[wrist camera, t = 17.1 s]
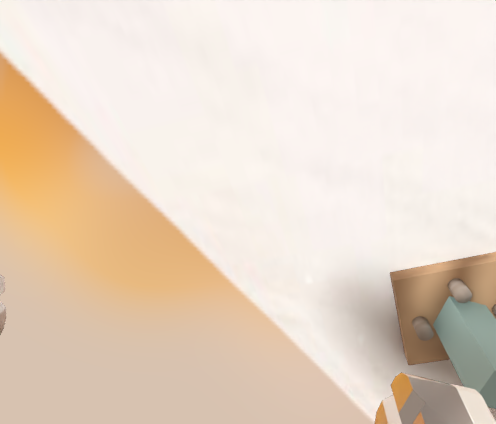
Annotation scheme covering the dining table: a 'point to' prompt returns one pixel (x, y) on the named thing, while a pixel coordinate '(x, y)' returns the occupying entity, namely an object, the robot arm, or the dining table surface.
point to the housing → (439, 300)
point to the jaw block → (470, 345)
